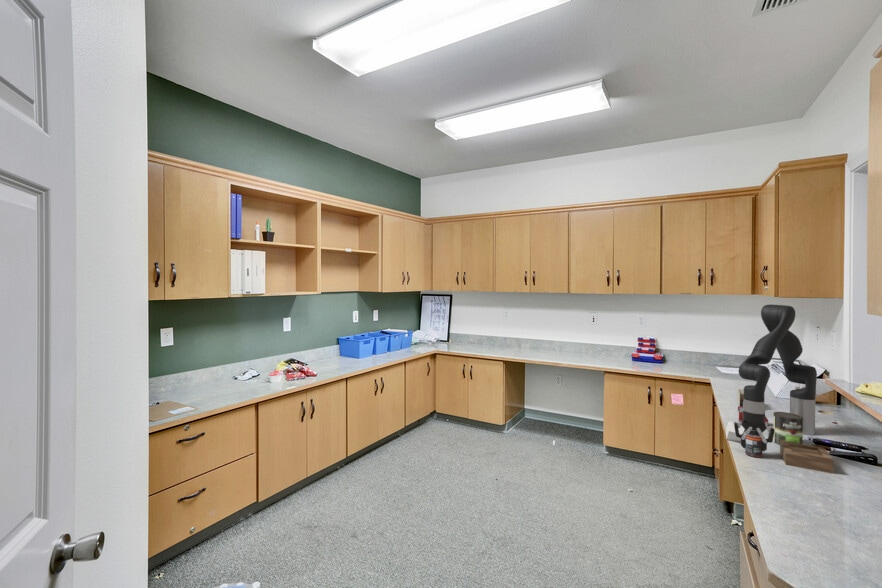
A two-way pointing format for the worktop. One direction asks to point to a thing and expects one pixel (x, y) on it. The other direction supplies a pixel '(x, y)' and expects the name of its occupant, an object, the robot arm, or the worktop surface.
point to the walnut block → (806, 456)
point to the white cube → (733, 432)
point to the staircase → (740, 396)
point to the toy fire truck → (742, 416)
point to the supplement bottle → (753, 444)
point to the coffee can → (788, 428)
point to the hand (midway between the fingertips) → (753, 449)
